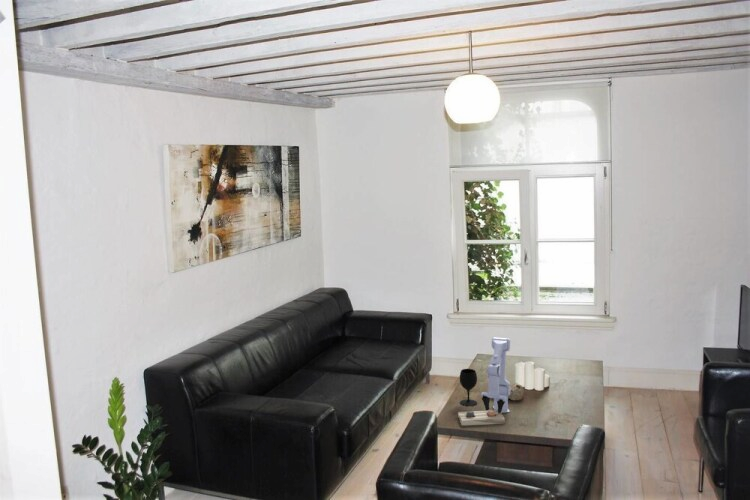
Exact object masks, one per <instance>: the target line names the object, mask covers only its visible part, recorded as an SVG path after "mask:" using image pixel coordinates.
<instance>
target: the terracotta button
mask: <svg viewBox="0 0 750 500" xmlns="http://www.w3.org/2000/svg"><path fill="white" fill-rule="evenodd" d="M487 411H488V417H492V416H495V411H494V409H489V410H487Z"/></svg>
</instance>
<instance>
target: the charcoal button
mask: <svg viewBox="0 0 750 500" xmlns="http://www.w3.org/2000/svg"><path fill="white" fill-rule="evenodd" d="M473 411H474V410H473ZM473 411H472V410H468V411H466V412H467V418H471V417H474V412H473Z"/></svg>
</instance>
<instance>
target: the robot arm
mask: <svg viewBox="0 0 750 500" xmlns="http://www.w3.org/2000/svg"><path fill="white" fill-rule="evenodd" d="M491 348H492V349H493V351H494V352H493V355H492V356H491V358H490V361H489V362H490V363H489V365H488V366H487V369H486V374H487V379H488V380H487V381H488V383H487V384H488V385H487V387H488V389H487V392H486V391H485V392H484V391H482V392H480V396H481V401H482V402H483V405H484V408H485V411H488V410H490V399H493V400H494V401H493V402H494V403H493V404H494V405H493V406H492V408H493V410H498V413H499V414H500V413H511V411H510V409H509V407H508V406H509V405H508V403H509V399H508V396H509V395H510V391H511V387H510V383H511V382H510V381H509V380H507V378H506V375H507V374H506V370H507V368H506V367H507V366H506V364H507V363H506V362H507V352H510V350H511V339H510V338H509V337H507V338H506V337H494V336H492V338H491Z"/></svg>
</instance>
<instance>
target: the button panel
mask: <svg viewBox="0 0 750 500" xmlns="http://www.w3.org/2000/svg"><path fill="white" fill-rule="evenodd" d="M493 410H494V409H493ZM494 411H495V416H492V417H488V410H477V411H474V410H473V412H474V417H471V418H467V411H458V412H457V418H459V419H458V421H459V420H460V421H459V423H460V425H461V426H480V425H481V426H483V425H500V424H501V425H502V424H505V423H506V420H505V416H504V415H503V414H502V413H500V414H499V413H498V410H494Z"/></svg>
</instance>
